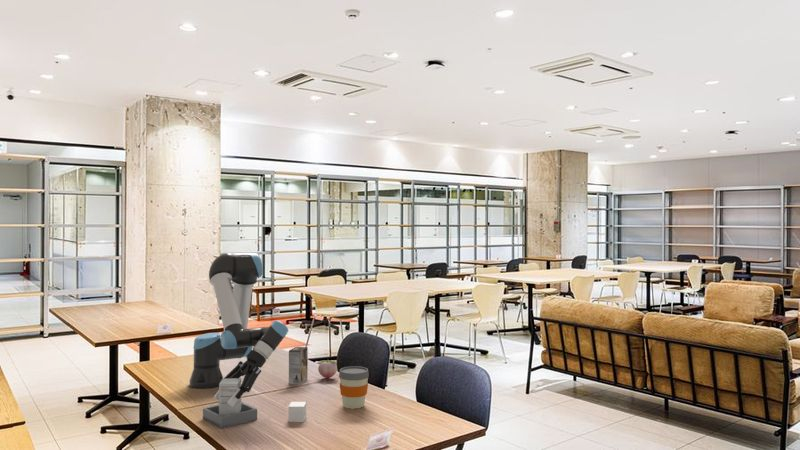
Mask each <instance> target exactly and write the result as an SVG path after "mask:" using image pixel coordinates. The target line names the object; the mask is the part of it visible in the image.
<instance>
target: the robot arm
mask: <svg viewBox="0 0 800 450" xmlns="http://www.w3.org/2000/svg"><path fill="white" fill-rule="evenodd" d="M263 267H264V266H263V262H262V259H261V256H260V255H259V254H258V253H256V252H255V253H254V252H240V253H239V252H238V253H237V252H236V253H235V252H234V253H233V252H232V253H230V252H227V253H226V252H225V253H223V254H221V255H219V256H217V257H216V258H215V259H214V260H213V262H212V263H211V265H210V267H209V271H208V278H209V283H210V285H211V286H213V289H214V292H215V293H214V294H215V298H216V301H217V306H218V309H219V314H220V318H221V319H220V320H221V322H222V326H223V331H222V332H221V333H219V332H208V333H203V334H201V335H198V336H196V337H195V338H194V341H193V348H192V349H193V370H192V372H191V375H190V378H189V387H191V388H194V389H208V388H209V389H211V388H214V387H219V383H220V382H221V381H222V379H229V378H241V377H243V379H242V381H241V387H239V388H240V389H239V388H238V389H237V391H236V392H235V393H234V394H233V396H232V397H231V398H230V400H229V401H228V402H227V403H228V404H229V405H230V406H231V407H233V406H234V405H235V403H236V402H237V401H238V399H239V398H240V397H241V398H242V396H243V394H244V393H250V391H251V390H252V388H253V386H254V384H255V382H256V380H257V378H258V376H259V375H260V374H261V373H262V370H261V369H260V368H262V367H264V365H265V363H267V360H269V358H270V357H271V355H272V354H273V352H274V351H275V350H276V349H277V347H278V346H279V345H280V343H281V342H282V341H283V340H284V339H285V338H286V336H287V335H288V333H289V328H288V326H287V325H286V324H285V323H283V322H282V321H280V320H278V319H277V320H273V321H272V323H271V324H270V325H269V326H262V327H260V326H259V327H253V328H248V326H249V325H248V324H249V316H250V310H251V301H252V295H253V286H254V285H256V284H257V280H258V279H259V278H261V277H262V276H263V273H264V271H263V270H264V269H263ZM232 283H233V285H232ZM242 358H246V360H245V362H243V361H241V360H240V361H239V362H238V363H237V365H236V366H235V367H233V369H232V370H231V371H230V372H228V374H226V376H224V377H223V373H222V371H221V367H220V362H221V361H224V360H225V361H227V360H233V359H242ZM213 397H214V398H215V399H216V400H217V401H218V402H219V390H217V391H216V393H215V394H214V396H213Z"/></svg>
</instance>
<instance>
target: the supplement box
mask: <svg viewBox="0 0 800 450" xmlns="http://www.w3.org/2000/svg"><path fill="white" fill-rule="evenodd" d="M241 384H242V378H241V377H240V378H229V379H224V378H223V379H222V381H221V382H220V383H219V386H218V391H219V401H218V405H219V415H221V416H228V415H232V414H236V413H240V411H241V402H242V396H241V397H240V398H239V399H238V401H237V402H236V403H235V405H234V406H233V407H231V406H230V405H229V404H228V403H227V402H228V401H229V400H230V398H231V397H232V396H233V394H234V393H235V392H236V391H237V389H238V388H239V387H241ZM239 389H240V388H239Z"/></svg>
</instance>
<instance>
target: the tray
mask: <svg viewBox="0 0 800 450" xmlns="http://www.w3.org/2000/svg"><path fill="white" fill-rule="evenodd" d="M202 419H203V420H204V421H206V422H208V423H210V424H212V425H214V426H216V427H218V428H219V429H225V428H229V427H233V426H237V425H241V424H244V423H248V422H253V421H256V420H258V408H256V407H253V406H252V405H249V404H247V403H244V402H242V401H241V411H240V413H236V414H232V415H228V416H221V415H219V404H217V405H212V406H207V407H203V408H202Z"/></svg>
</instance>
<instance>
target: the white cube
mask: <svg viewBox="0 0 800 450" xmlns="http://www.w3.org/2000/svg"><path fill="white" fill-rule="evenodd" d="M306 418H307V401H290V403H289V405H288V423H304V422H305V421H306Z"/></svg>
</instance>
